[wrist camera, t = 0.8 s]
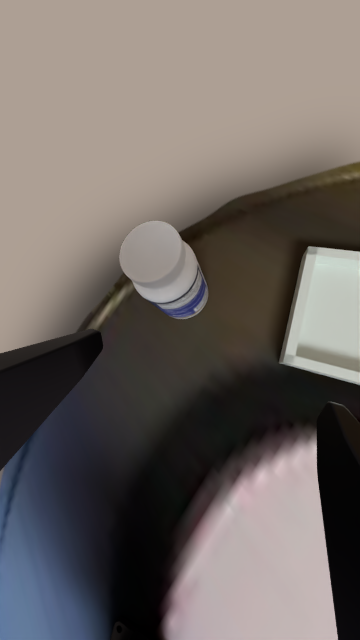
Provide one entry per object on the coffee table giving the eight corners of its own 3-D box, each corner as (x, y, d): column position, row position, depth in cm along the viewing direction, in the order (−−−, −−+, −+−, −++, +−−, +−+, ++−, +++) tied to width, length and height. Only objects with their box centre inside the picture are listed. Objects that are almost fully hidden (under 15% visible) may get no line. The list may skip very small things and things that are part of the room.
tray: (412, 399, 17) (435, 403, 15) (278, 362, 20) (283, 362, 18) (429, 272, 18) (451, 261, 16) (302, 257, 21) (308, 246, 19)
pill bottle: (155, 282, 25) (106, 231, 16) (200, 265, 24) (177, 199, 15) (166, 327, 23) (119, 300, 14) (215, 310, 22) (199, 270, 13)
